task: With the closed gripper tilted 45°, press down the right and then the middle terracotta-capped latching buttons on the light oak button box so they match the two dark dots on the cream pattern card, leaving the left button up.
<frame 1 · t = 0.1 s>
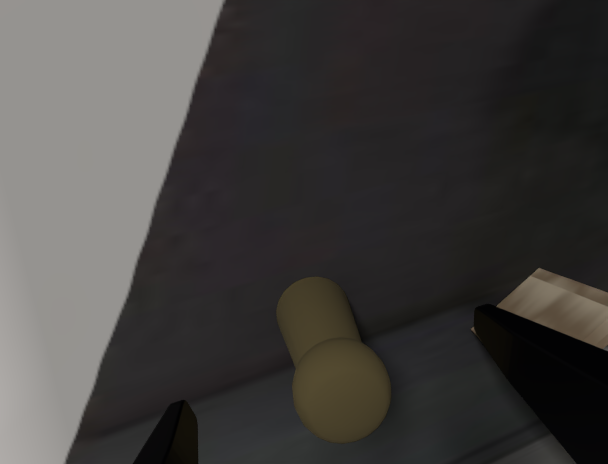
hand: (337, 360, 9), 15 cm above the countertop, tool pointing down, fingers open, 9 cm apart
cork: (312, 310, 26), on the countertop
button box: (569, 379, 31), on the countertop
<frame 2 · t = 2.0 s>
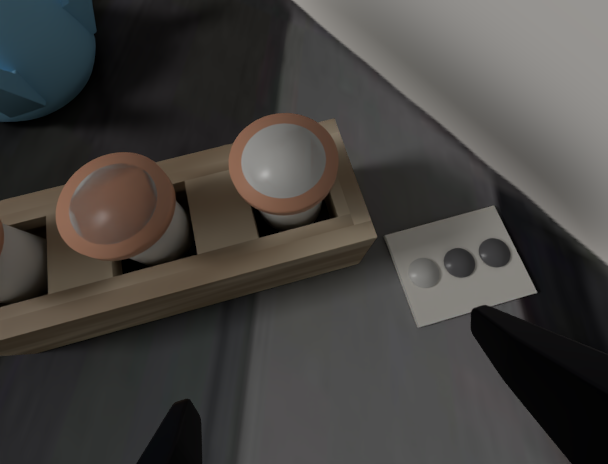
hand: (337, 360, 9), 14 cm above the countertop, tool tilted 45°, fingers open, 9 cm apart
teapot: (38, 71, 31), on the countertop
middle button: (141, 220, 17), point 8 cm above the countertop, slide at 0.0 cm
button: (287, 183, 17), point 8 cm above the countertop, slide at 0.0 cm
button box: (193, 255, 24), on the countertop
pattern card: (456, 264, 24), on the countertop
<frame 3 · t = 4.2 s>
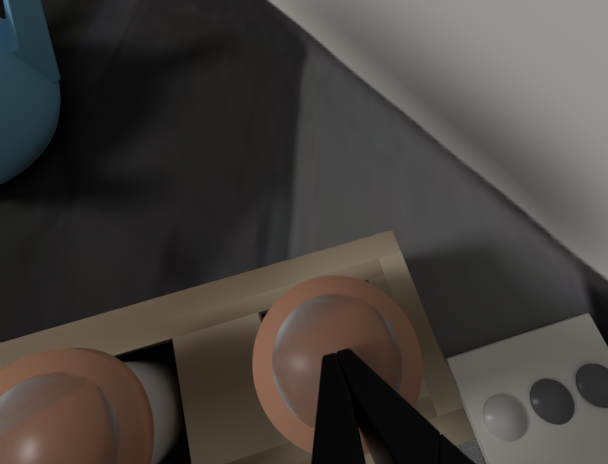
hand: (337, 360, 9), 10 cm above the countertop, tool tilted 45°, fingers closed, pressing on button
middle button: (101, 429, 10), point 8 cm above the countertop, slide at 0.0 cm
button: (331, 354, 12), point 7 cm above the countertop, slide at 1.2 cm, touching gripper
button box: (188, 390, 18), on the countertop
pattern card: (545, 399, 18), on the countertop
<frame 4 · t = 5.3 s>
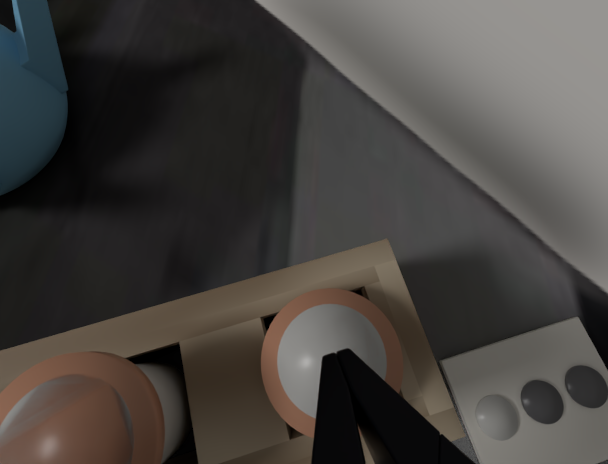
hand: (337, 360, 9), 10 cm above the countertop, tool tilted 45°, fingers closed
middle button: (113, 428, 11), point 8 cm above the countertop, slide at 0.0 cm
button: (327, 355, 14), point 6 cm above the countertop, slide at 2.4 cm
button box: (192, 391, 19), on the countertop
pattern card: (535, 399, 18), on the countertop
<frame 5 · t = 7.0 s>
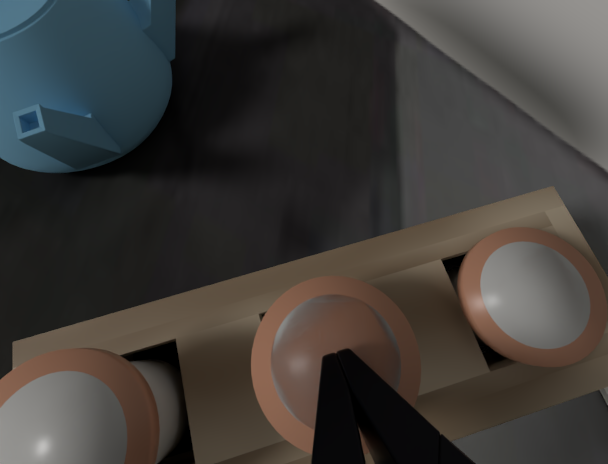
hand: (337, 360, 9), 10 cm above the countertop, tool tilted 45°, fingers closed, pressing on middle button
teapot: (97, 105, 25), on the countertop
middle button: (330, 355, 12), point 7 cm above the countertop, slide at 0.7 cm, touching gripper
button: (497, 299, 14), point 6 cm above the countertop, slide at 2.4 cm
button box: (322, 348, 19), on the countertop
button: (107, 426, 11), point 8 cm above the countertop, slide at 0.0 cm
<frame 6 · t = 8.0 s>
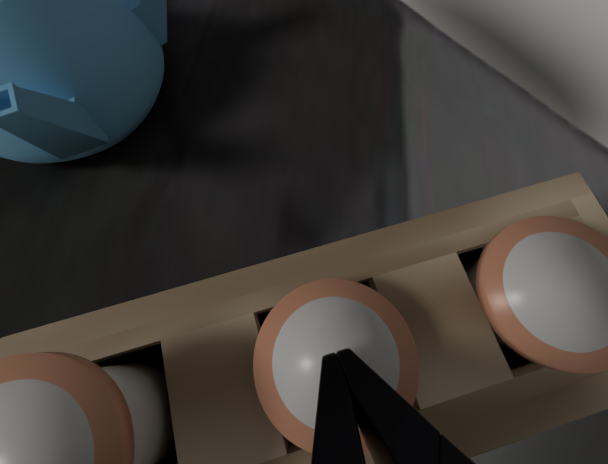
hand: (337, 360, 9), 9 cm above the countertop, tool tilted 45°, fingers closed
teapot: (85, 93, 24), on the countertop
middle button: (330, 356, 12), point 6 cm above the countertop, slide at 2.4 cm
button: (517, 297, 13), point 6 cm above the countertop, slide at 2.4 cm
button box: (323, 350, 18), on the countertop
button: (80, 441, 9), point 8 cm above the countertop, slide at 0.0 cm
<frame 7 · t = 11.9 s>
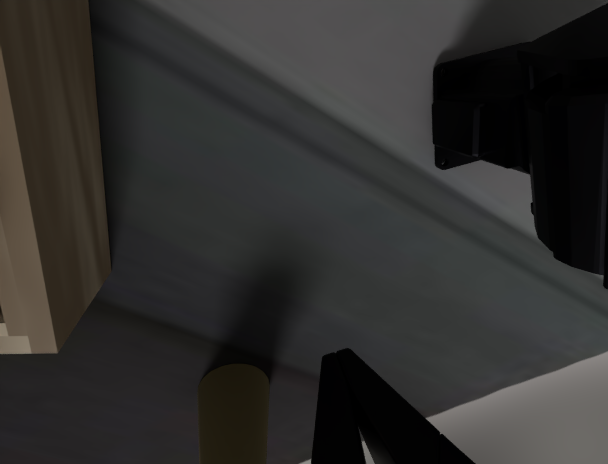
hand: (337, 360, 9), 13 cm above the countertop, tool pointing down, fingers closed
cork: (234, 387, 27), on the countertop
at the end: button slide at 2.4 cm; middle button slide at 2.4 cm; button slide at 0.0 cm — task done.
